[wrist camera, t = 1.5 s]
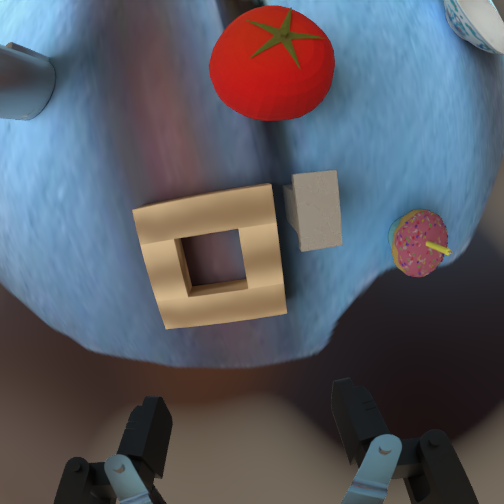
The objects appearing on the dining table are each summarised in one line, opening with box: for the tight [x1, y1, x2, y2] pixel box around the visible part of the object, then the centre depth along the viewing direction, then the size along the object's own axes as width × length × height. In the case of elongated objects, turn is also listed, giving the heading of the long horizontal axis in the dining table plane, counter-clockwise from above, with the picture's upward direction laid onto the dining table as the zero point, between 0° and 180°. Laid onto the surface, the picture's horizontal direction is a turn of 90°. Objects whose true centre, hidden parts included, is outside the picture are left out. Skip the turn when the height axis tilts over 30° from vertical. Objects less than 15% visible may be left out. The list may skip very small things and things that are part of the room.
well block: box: [132, 183, 287, 329], centre depth 31 cm, size 15×15×3 cm
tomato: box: [209, 6, 335, 121], centre depth 20 cm, size 11×11×13 cm
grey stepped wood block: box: [282, 170, 342, 252], centre depth 27 cm, size 7×4×8 cm, turn 8°
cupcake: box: [388, 209, 453, 277], centre depth 27 cm, size 9×8×12 cm
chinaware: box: [444, 0, 504, 55], centre depth 18 cm, size 15×15×8 cm
